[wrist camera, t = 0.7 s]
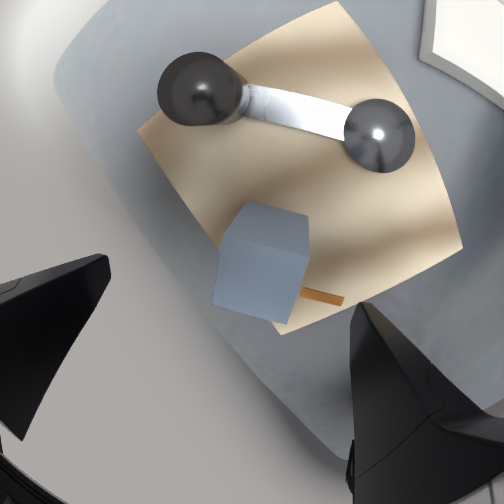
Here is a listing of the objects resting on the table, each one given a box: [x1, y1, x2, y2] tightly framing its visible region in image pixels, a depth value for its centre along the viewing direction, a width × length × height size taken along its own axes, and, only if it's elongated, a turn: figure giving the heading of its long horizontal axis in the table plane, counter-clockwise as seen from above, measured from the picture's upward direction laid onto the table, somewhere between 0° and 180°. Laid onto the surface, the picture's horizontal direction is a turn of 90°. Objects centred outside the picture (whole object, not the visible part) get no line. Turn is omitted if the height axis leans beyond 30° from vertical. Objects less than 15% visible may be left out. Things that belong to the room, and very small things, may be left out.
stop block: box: [212, 200, 310, 325], centre depth 16 cm, size 4×4×6 cm
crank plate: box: [136, 1, 463, 335], centre depth 17 cm, size 19×16×2 cm
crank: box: [157, 52, 415, 173], centre depth 13 cm, size 14×4×5 cm, turn 78°
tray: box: [418, 0, 504, 110], centre depth 9 cm, size 12×12×2 cm
